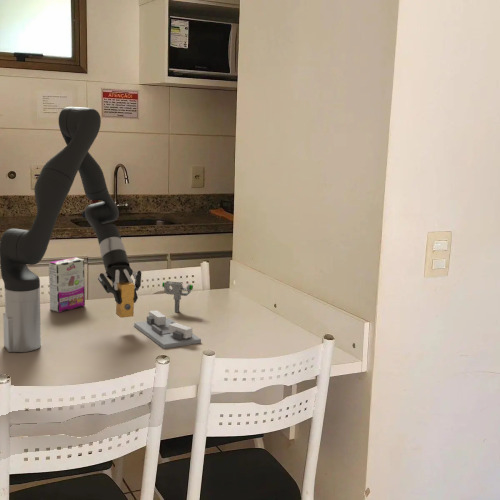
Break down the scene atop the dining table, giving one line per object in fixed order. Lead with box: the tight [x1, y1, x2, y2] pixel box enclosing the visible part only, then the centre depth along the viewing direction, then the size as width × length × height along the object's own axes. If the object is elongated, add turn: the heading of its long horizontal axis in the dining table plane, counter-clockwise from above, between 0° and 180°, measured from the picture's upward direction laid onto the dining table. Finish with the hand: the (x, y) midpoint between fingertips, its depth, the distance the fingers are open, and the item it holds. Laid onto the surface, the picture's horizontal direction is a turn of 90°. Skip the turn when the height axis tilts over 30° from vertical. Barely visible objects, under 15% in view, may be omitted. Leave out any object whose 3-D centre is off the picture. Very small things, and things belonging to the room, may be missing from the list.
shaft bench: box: [133, 310, 202, 349], centre depth 205 cm, size 12×22×4 cm, turn 32°
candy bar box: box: [48, 256, 86, 313], centre depth 225 cm, size 11×5×16 cm, turn 143°
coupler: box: [115, 281, 135, 319], centre depth 204 cm, size 4×5×10 cm
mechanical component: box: [161, 280, 194, 313], centre depth 227 cm, size 3×10×10 cm, turn 78°
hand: (127, 302), depth 203 cm, fingers closed on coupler, 4 cm apart
